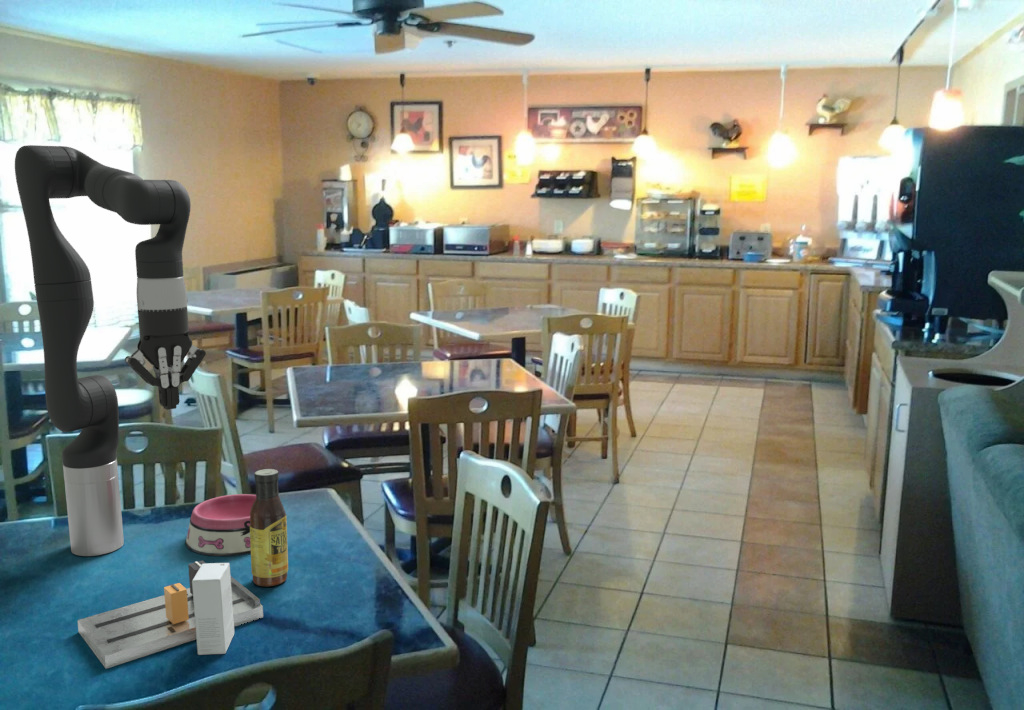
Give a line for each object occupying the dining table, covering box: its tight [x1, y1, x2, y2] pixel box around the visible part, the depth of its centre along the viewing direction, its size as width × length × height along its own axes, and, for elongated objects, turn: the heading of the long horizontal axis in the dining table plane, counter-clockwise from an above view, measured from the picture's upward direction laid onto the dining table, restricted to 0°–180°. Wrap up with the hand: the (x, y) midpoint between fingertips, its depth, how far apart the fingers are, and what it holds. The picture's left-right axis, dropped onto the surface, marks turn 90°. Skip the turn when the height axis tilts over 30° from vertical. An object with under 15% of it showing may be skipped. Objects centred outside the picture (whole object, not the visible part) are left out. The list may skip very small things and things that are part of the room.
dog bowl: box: [185, 493, 257, 557], centre depth 173 cm, size 18×19×7 cm
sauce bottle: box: [250, 468, 289, 588], centre depth 153 cm, size 7×6×20 cm
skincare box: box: [192, 562, 235, 656], centre depth 132 cm, size 6×4×12 cm
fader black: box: [187, 560, 207, 595], centre depth 144 cm, size 3×2×5 cm
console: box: [77, 575, 264, 670], centre depth 138 cm, size 14×24×3 cm, turn 131°
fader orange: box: [163, 582, 189, 624], centre depth 136 cm, size 3×2×5 cm
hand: (169, 408), depth 146 cm, fingers closed
